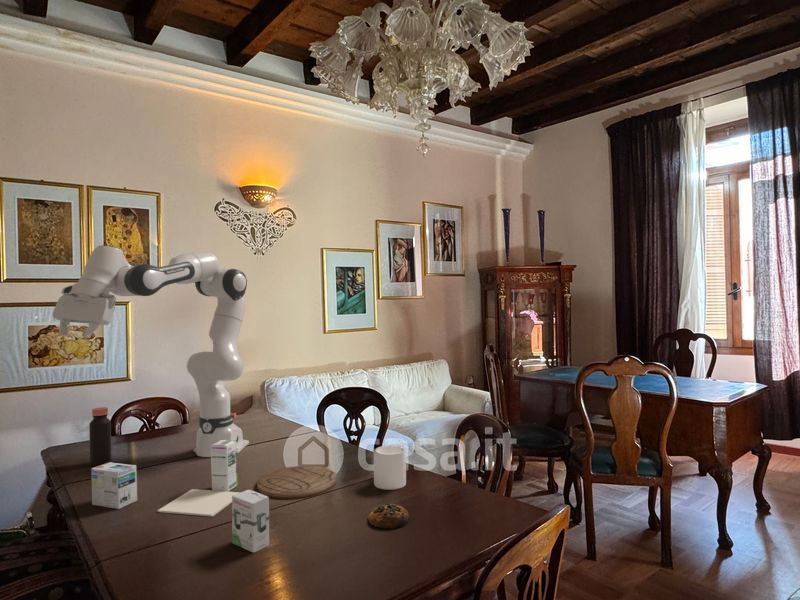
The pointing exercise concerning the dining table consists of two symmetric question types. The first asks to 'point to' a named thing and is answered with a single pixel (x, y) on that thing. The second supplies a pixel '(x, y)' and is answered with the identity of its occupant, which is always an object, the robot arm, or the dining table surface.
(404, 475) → the mug
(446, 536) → the dining table surface
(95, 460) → the bottle
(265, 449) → the dining table surface
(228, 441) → the syrup box
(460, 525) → the dining table surface
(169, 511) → the mat
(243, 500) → the ink box
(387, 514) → the bread roll
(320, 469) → the trivet
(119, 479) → the light bulb box
